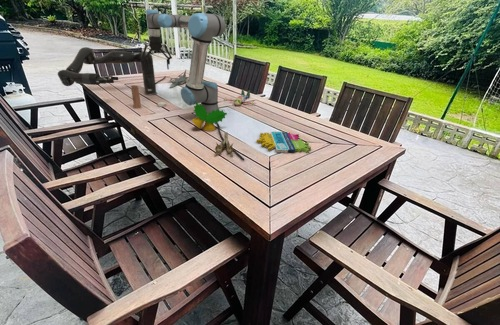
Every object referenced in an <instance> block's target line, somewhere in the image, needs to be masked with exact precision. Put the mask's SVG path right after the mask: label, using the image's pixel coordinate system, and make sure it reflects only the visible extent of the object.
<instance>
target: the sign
mask: <svg viewBox="0 0 500 325" xmlns="http://www.w3.org/2000/svg"><path fill="white" fill-rule="evenodd" d="M299 136H300V135H299V134H298V133H296V134H294V133H291V132H287V131H270V132H264V133H263V132H260V133H259V139H258V138H257V139H256V143H257V144H261V148H263V147H264V148H265V149H267V151H268V152H271V151H272V150H273V149H275V152H276V153H283V154H285V153H287V154H288V153H290V154H293V153H296V152H298V153H301V152H305V153H310V151H311V150H312V149H311V148H312V146H309V142H304V141H303V139H302V138H299Z"/></svg>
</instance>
